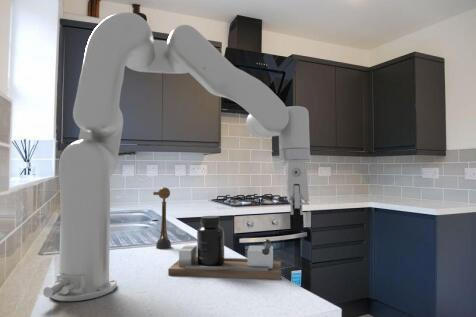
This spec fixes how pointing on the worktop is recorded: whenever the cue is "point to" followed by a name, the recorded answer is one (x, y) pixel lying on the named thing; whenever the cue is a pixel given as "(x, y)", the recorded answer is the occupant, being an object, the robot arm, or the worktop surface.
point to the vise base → (220, 267)
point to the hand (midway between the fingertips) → (296, 230)
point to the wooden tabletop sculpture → (163, 220)
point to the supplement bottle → (210, 242)
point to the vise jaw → (260, 256)
